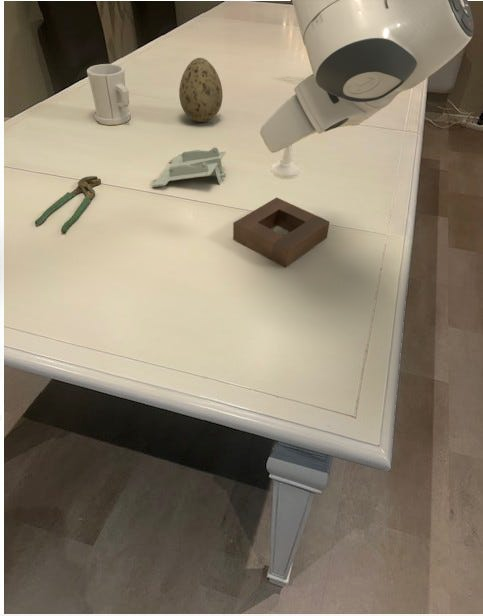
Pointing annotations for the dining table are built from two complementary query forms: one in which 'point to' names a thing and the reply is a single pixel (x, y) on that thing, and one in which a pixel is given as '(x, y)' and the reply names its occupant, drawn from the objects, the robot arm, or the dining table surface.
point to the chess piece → (286, 166)
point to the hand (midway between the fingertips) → (286, 138)
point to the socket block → (274, 245)
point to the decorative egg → (200, 91)
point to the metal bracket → (193, 166)
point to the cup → (109, 93)
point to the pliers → (82, 187)
